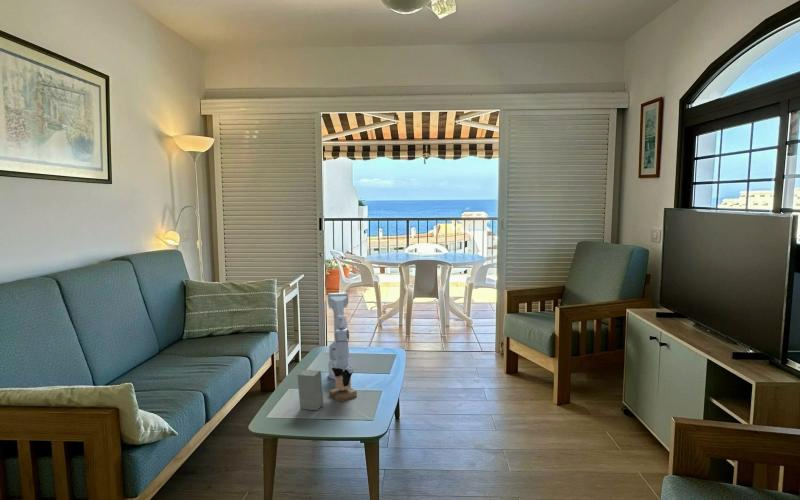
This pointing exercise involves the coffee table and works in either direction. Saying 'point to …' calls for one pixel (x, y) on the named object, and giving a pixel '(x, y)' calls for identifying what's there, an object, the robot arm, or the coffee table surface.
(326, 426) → the coffee table surface
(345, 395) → the tan flat block
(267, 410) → the coffee table surface
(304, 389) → the skincare box
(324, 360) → the coffee table surface
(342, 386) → the cube
